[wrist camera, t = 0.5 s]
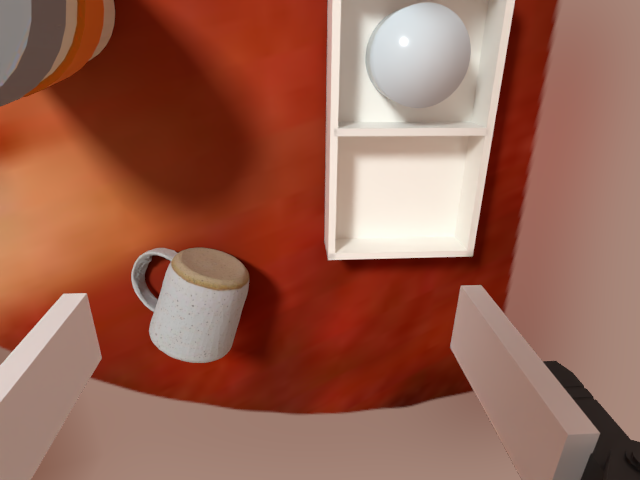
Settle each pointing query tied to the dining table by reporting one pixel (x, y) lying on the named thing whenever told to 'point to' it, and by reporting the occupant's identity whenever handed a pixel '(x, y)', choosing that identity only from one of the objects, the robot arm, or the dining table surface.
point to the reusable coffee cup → (49, 41)
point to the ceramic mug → (194, 302)
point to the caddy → (408, 141)
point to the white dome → (418, 55)
